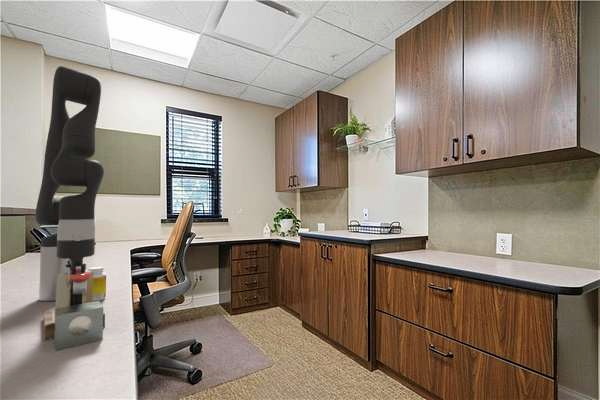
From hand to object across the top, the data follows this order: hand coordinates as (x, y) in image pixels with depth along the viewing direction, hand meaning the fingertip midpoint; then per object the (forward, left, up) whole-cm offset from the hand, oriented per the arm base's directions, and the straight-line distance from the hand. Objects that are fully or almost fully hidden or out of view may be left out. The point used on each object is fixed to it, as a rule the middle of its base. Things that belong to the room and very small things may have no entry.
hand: (74, 304), depth 72 cm
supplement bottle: (-23, +7, -5) cm, 25 cm away
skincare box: (0, 0, -5) cm, 5 cm away
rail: (-3, 0, -5) cm, 6 cm away
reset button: (+11, 0, +5) cm, 12 cm away
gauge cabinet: (+11, 0, -5) cm, 12 cm away
